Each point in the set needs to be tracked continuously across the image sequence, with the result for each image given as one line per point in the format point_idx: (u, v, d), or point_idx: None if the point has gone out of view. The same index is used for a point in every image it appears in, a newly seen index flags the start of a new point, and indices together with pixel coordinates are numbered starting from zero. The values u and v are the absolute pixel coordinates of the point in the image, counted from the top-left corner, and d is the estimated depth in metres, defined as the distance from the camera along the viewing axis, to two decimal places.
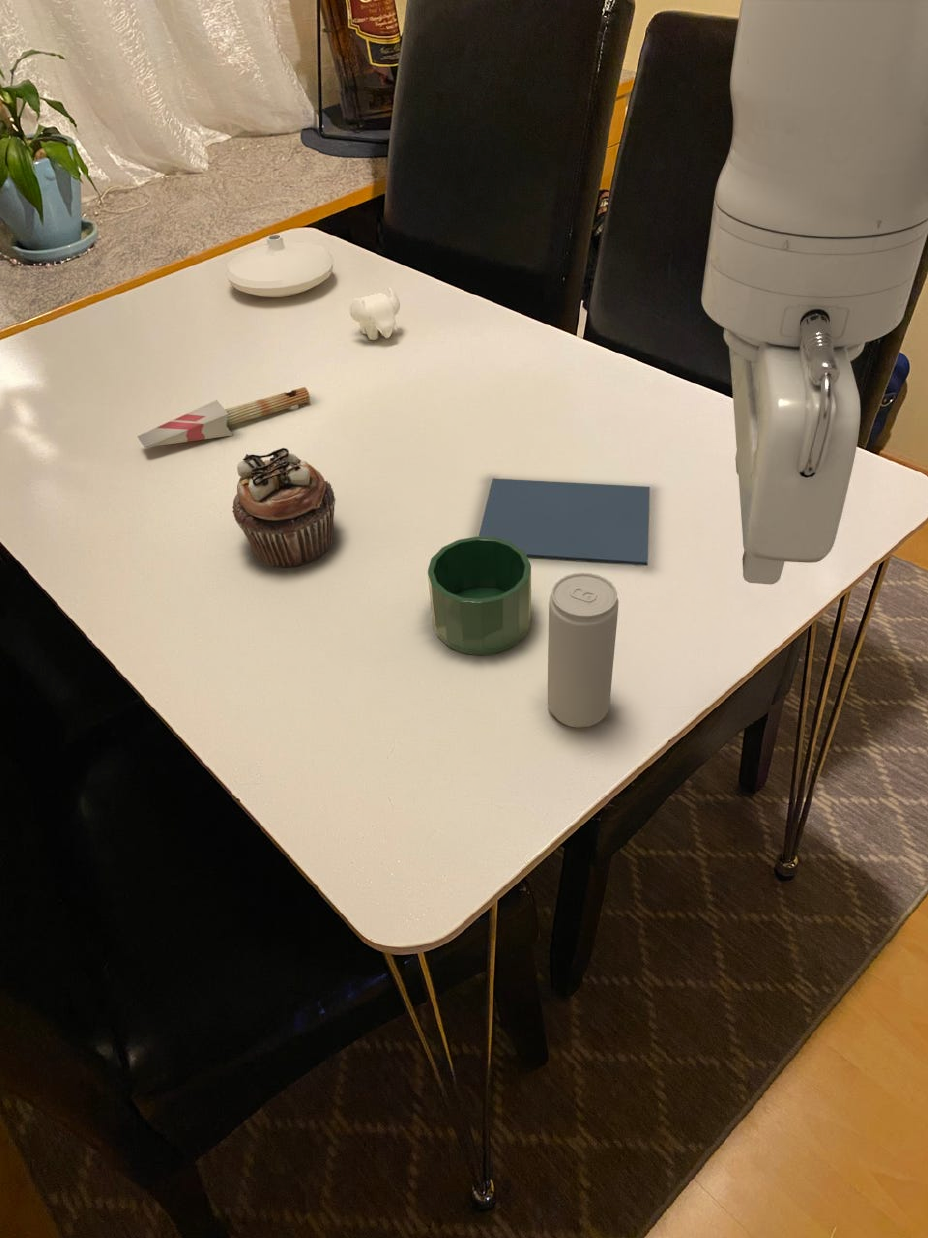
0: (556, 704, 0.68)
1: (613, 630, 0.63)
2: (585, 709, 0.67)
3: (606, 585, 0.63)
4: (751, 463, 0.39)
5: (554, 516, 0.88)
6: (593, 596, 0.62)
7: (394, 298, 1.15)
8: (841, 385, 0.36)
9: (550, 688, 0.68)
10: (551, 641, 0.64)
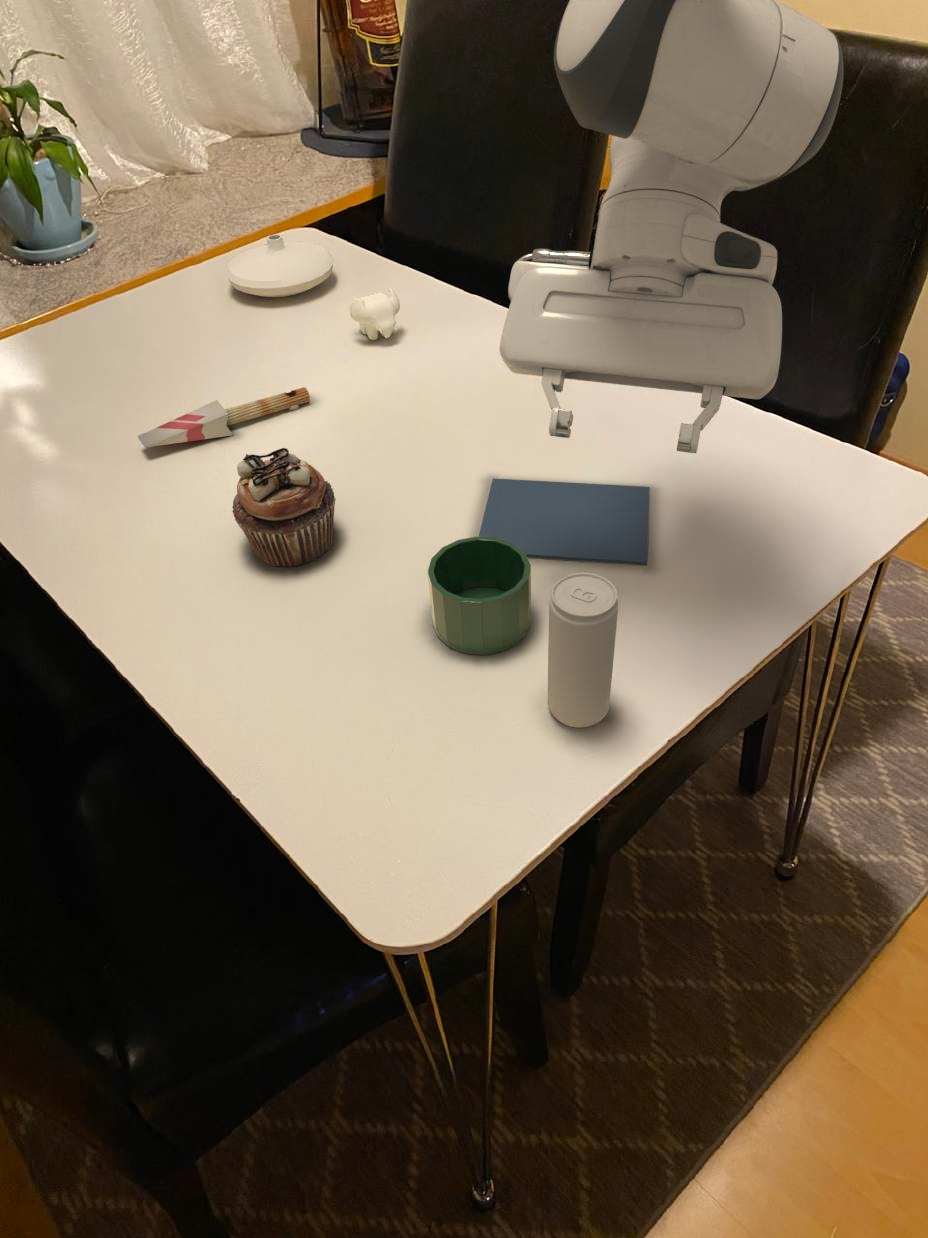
0: (556, 704, 0.68)
1: (613, 630, 0.63)
2: (585, 709, 0.67)
3: (606, 585, 0.63)
4: None
5: (554, 516, 0.88)
6: (593, 596, 0.62)
7: (394, 298, 1.15)
8: None
9: (550, 688, 0.68)
10: (551, 641, 0.64)
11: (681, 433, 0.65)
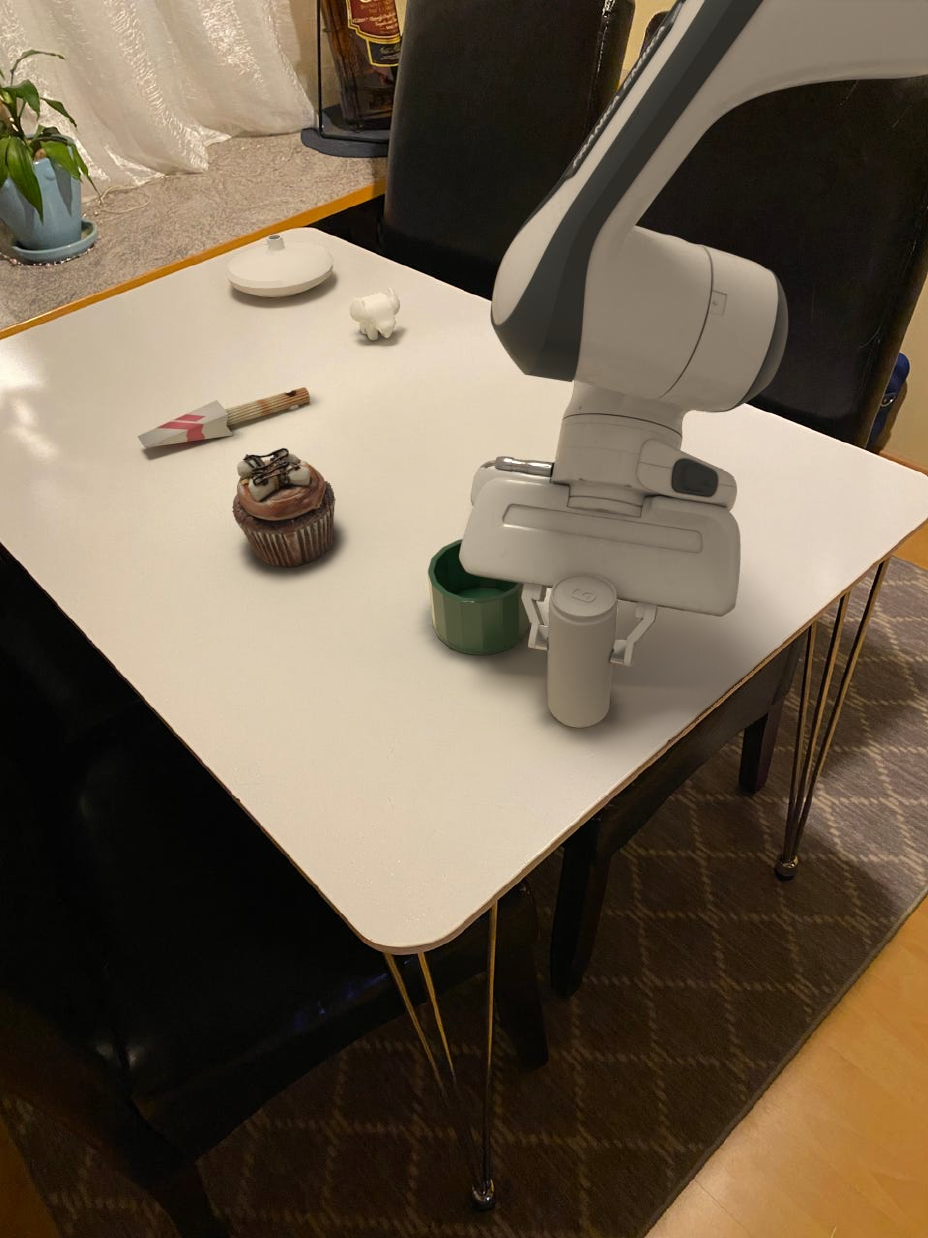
0: (556, 704, 0.68)
1: (613, 630, 0.63)
2: (585, 709, 0.67)
3: (605, 585, 0.63)
4: None
5: None
6: (592, 596, 0.62)
7: (394, 298, 1.15)
8: None
9: (550, 688, 0.68)
10: (551, 641, 0.64)
11: (614, 649, 0.64)
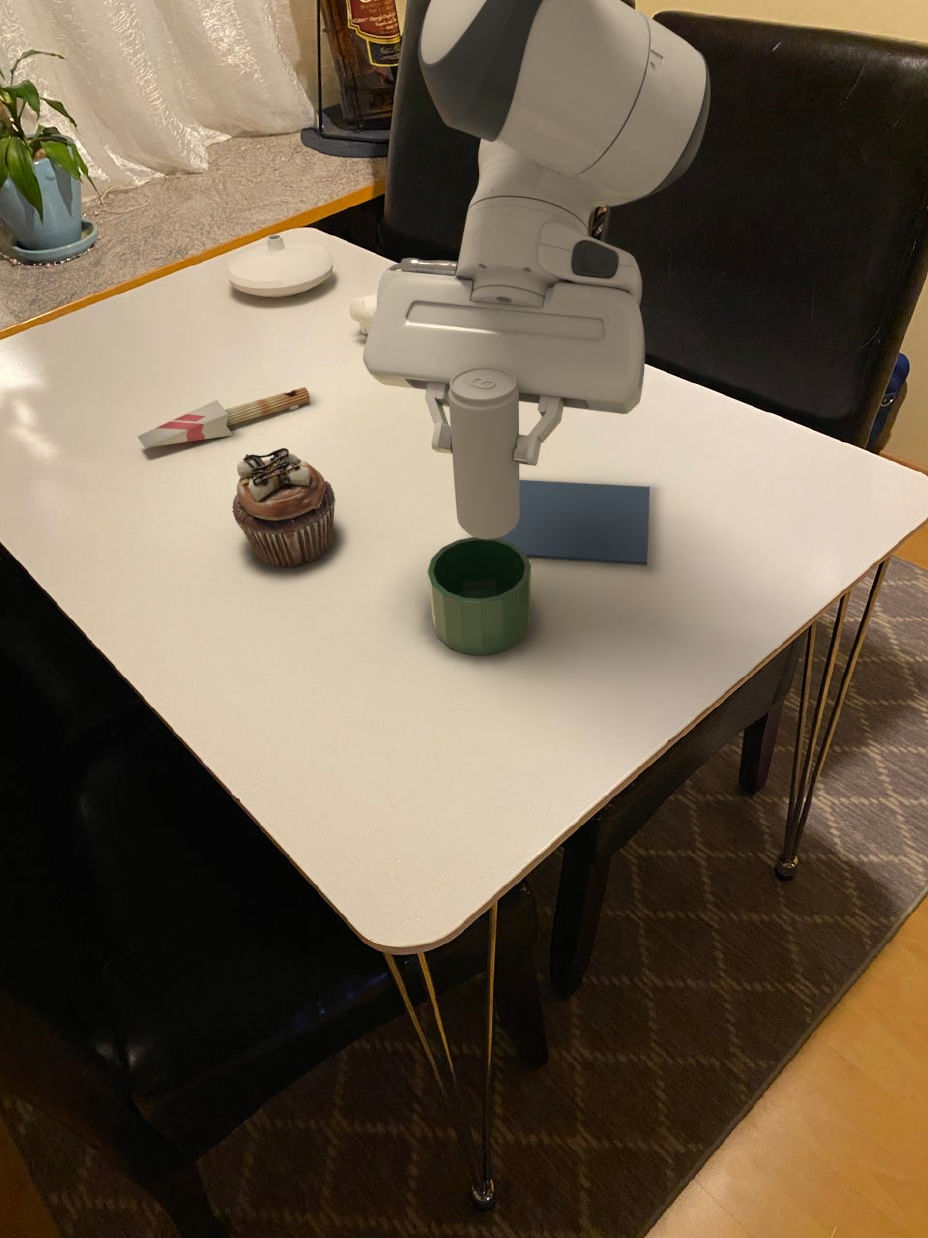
0: (463, 512, 0.67)
1: (513, 421, 0.61)
2: (491, 515, 0.66)
3: (507, 376, 0.62)
4: None
5: (554, 516, 0.88)
6: (492, 385, 0.61)
7: None
8: None
9: (456, 496, 0.67)
10: (452, 437, 0.63)
11: (517, 444, 0.63)
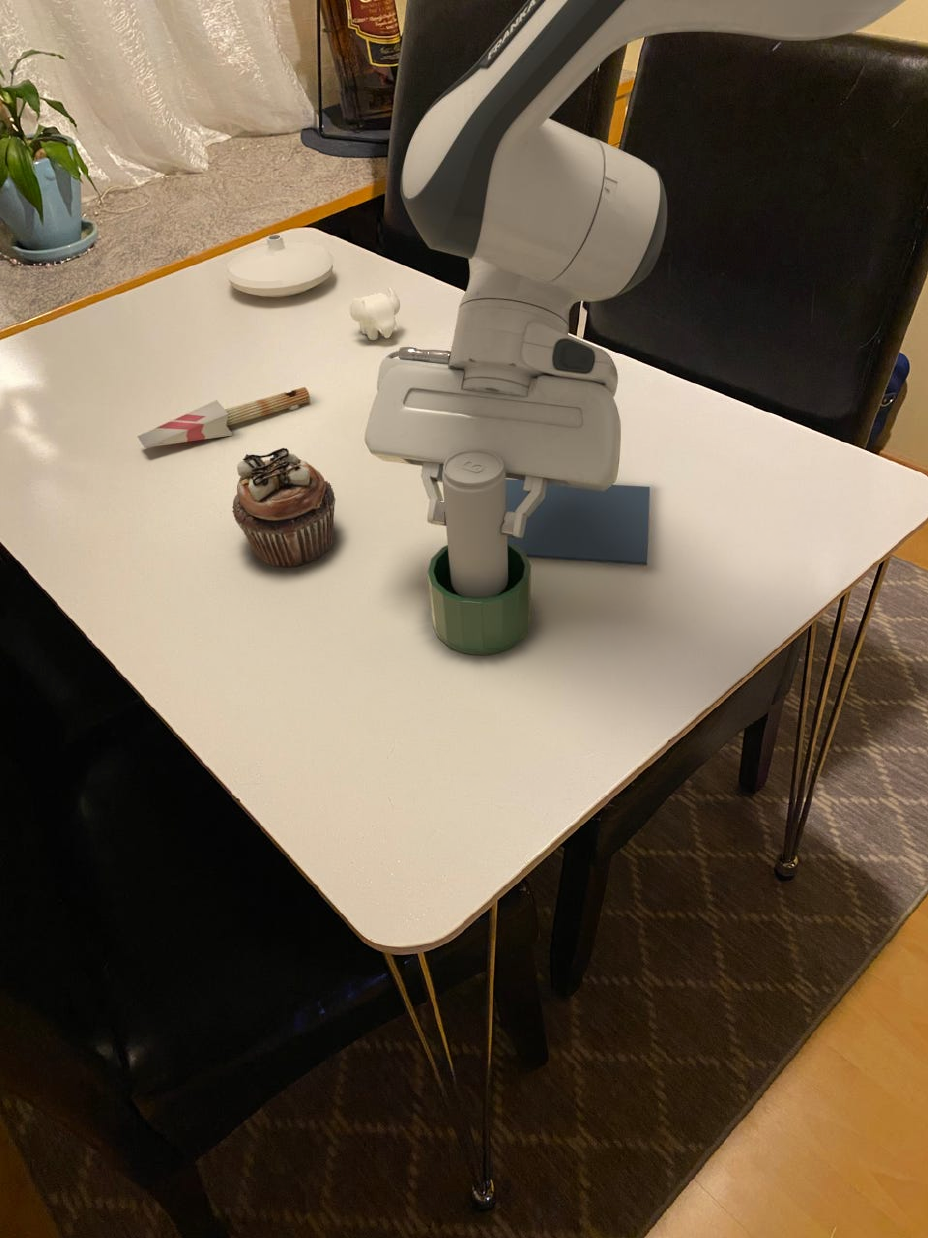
0: (456, 578, 0.73)
1: (501, 500, 0.68)
2: (481, 581, 0.72)
3: (495, 459, 0.68)
4: None
5: (554, 516, 0.88)
6: (481, 468, 0.67)
7: (394, 298, 1.15)
8: None
9: (450, 563, 0.73)
10: (446, 513, 0.69)
11: (504, 520, 0.69)
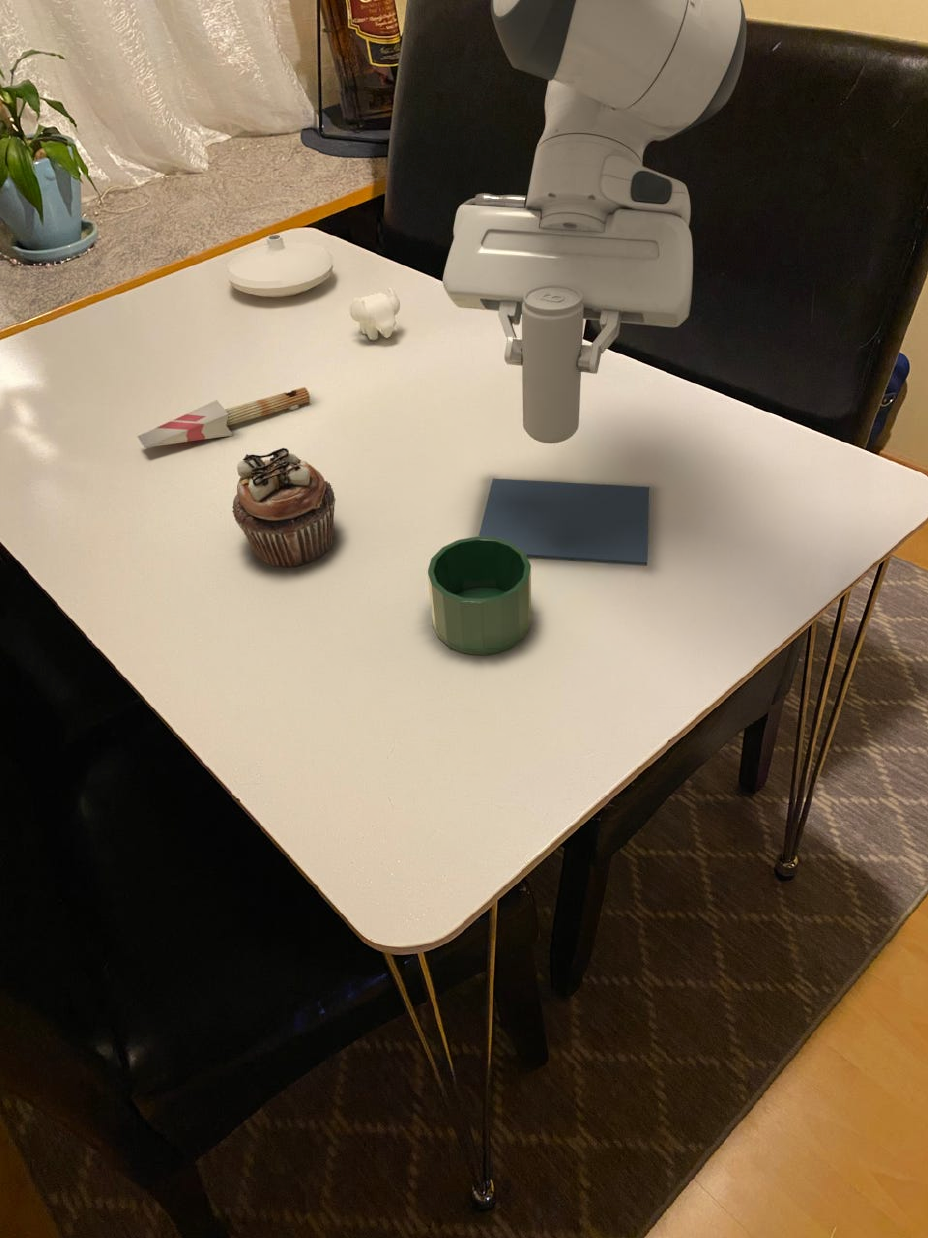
0: (530, 418, 0.75)
1: (579, 331, 0.70)
2: (555, 419, 0.74)
3: (573, 292, 0.70)
4: None
5: (554, 516, 0.88)
6: (560, 299, 0.69)
7: (394, 298, 1.15)
8: None
9: (524, 404, 0.75)
10: (524, 348, 0.72)
11: (581, 353, 0.71)
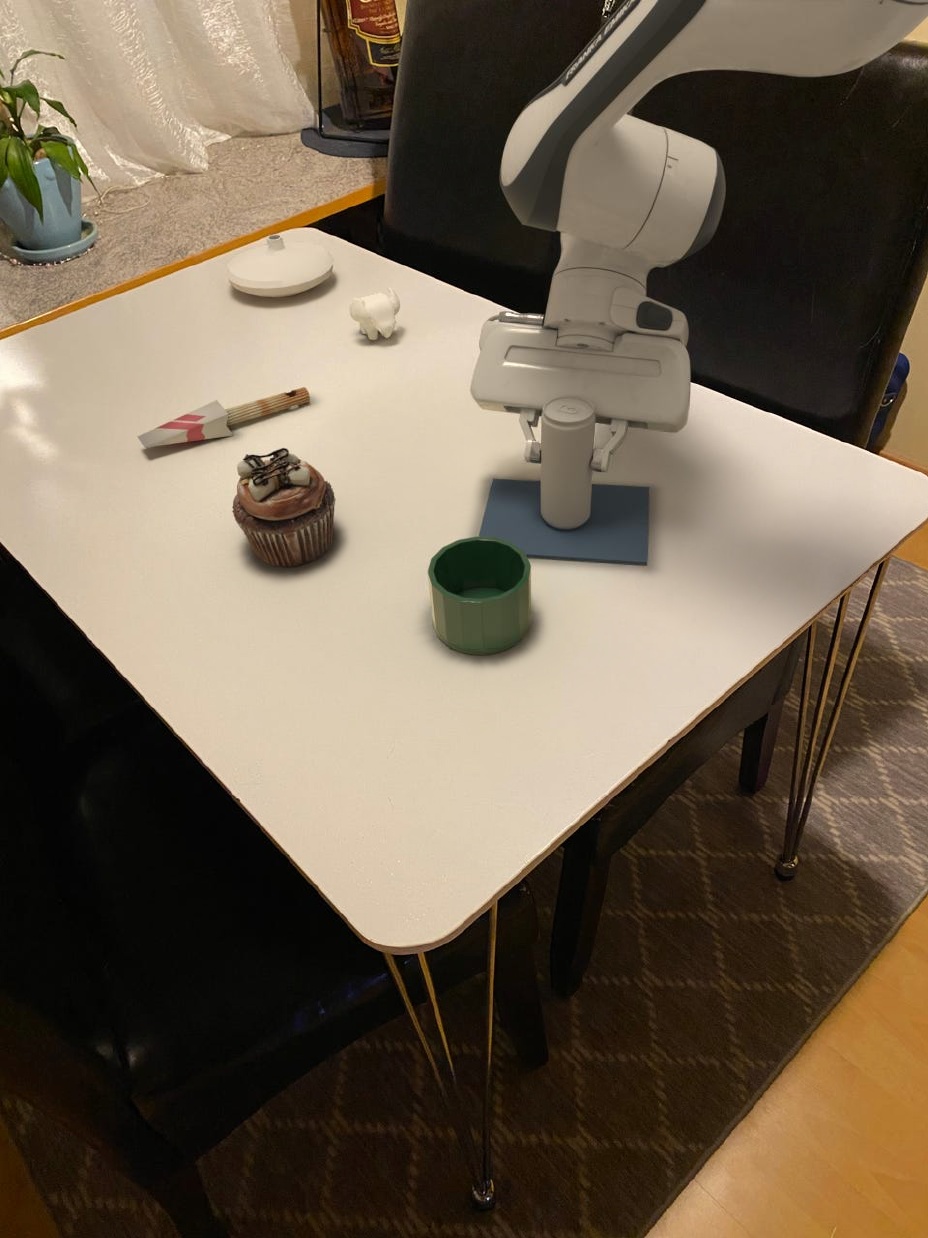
0: (548, 508, 0.85)
1: (591, 438, 0.80)
2: (570, 510, 0.84)
3: (586, 403, 0.80)
4: None
5: None
6: (575, 410, 0.79)
7: (394, 298, 1.15)
8: None
9: (542, 496, 0.85)
10: (543, 450, 0.82)
11: (593, 456, 0.81)
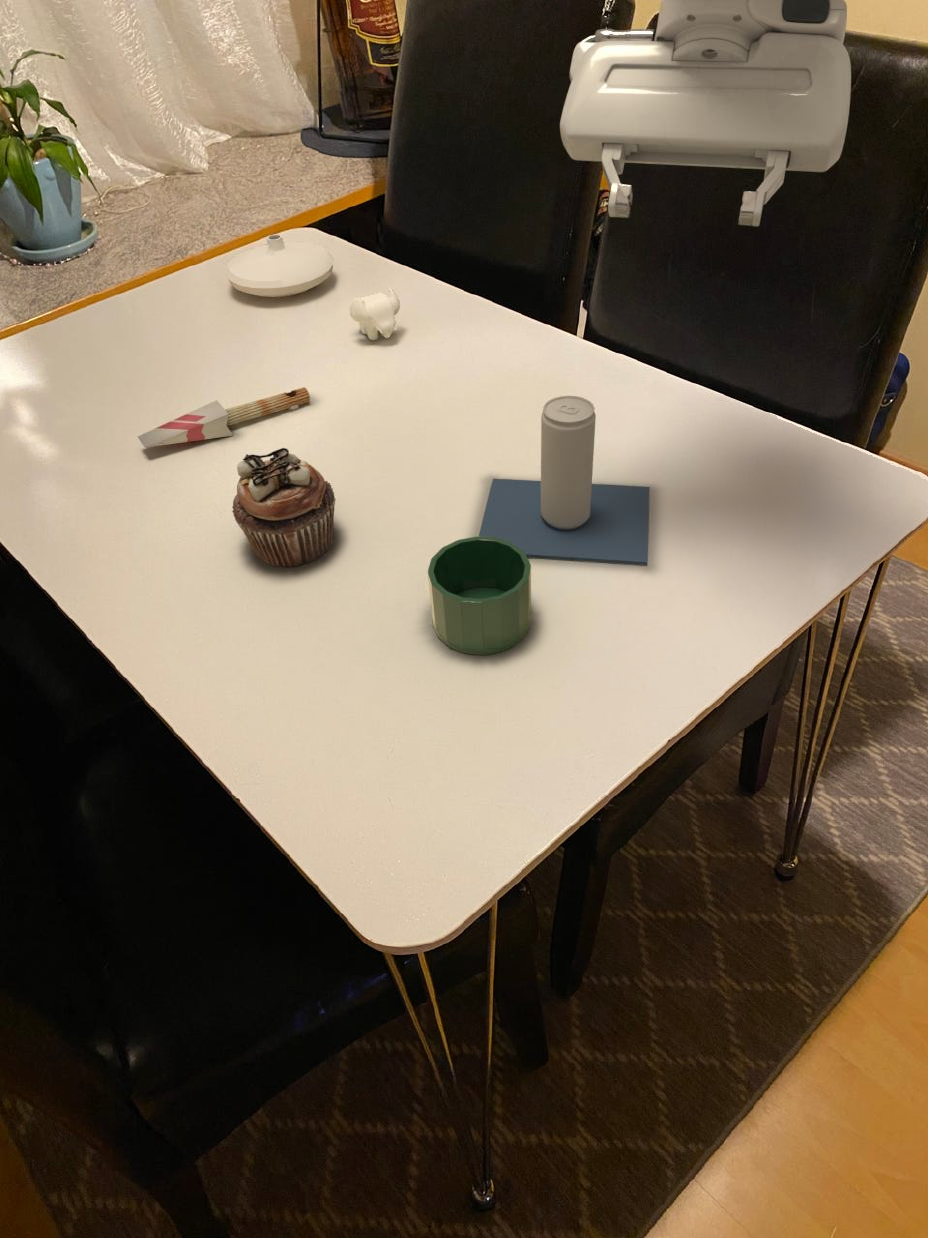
0: (548, 508, 0.85)
1: (591, 438, 0.80)
2: (570, 510, 0.84)
3: (586, 403, 0.80)
4: None
5: None
6: (575, 410, 0.79)
7: (394, 298, 1.15)
8: None
9: (542, 496, 0.85)
10: (543, 450, 0.82)
11: (744, 201, 0.64)
